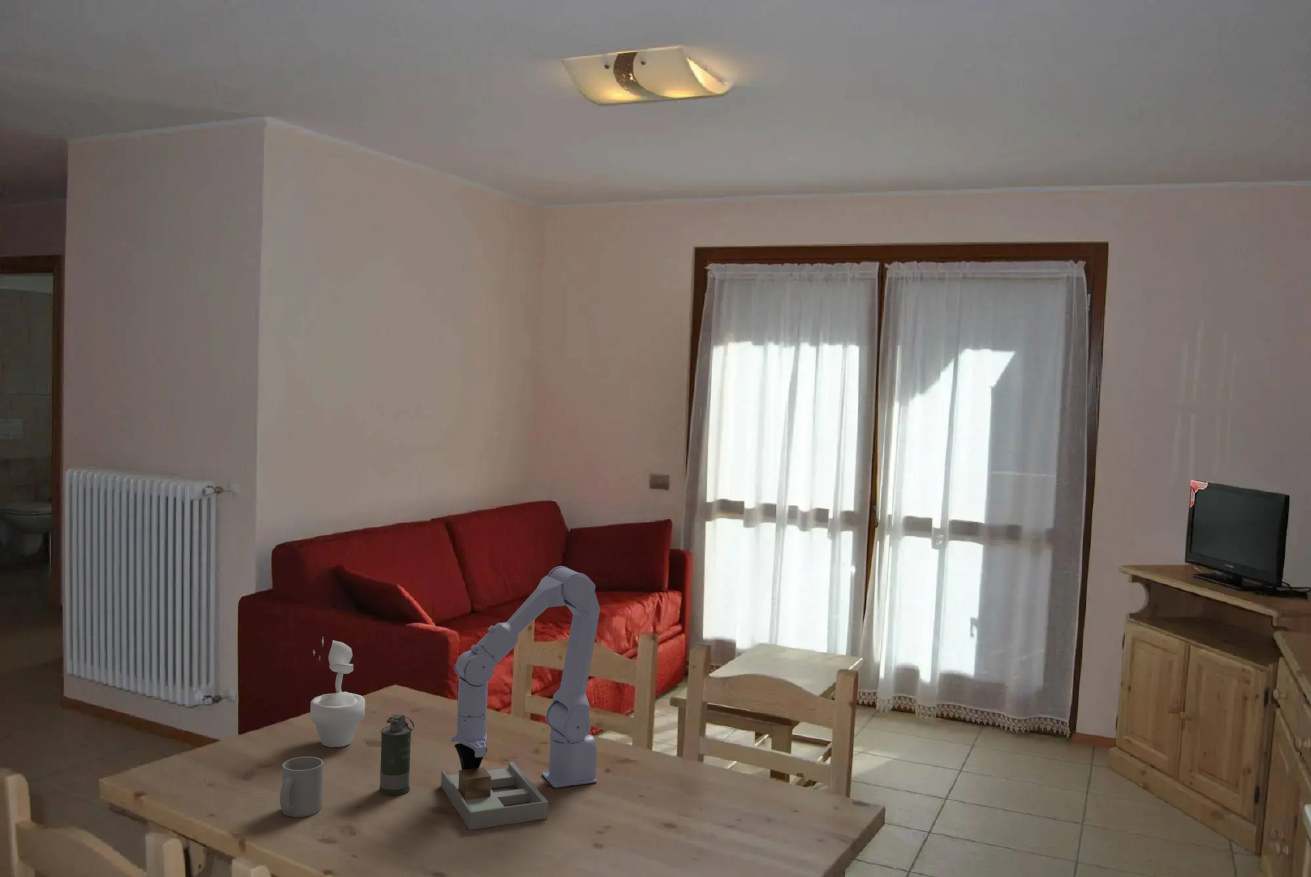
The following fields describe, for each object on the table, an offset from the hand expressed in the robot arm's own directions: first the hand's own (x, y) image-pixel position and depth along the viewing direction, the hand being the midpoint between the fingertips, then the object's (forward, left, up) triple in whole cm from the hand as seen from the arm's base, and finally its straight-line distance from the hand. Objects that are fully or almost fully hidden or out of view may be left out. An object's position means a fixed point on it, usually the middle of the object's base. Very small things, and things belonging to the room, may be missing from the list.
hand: (469, 780), depth 202 cm
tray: (-4, +4, -3) cm, 6 cm away
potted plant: (+20, -38, -3) cm, 43 cm away
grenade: (+13, -8, -3) cm, 15 cm away
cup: (+32, -3, -3) cm, 32 cm away
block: (0, +4, -1) cm, 4 cm away
